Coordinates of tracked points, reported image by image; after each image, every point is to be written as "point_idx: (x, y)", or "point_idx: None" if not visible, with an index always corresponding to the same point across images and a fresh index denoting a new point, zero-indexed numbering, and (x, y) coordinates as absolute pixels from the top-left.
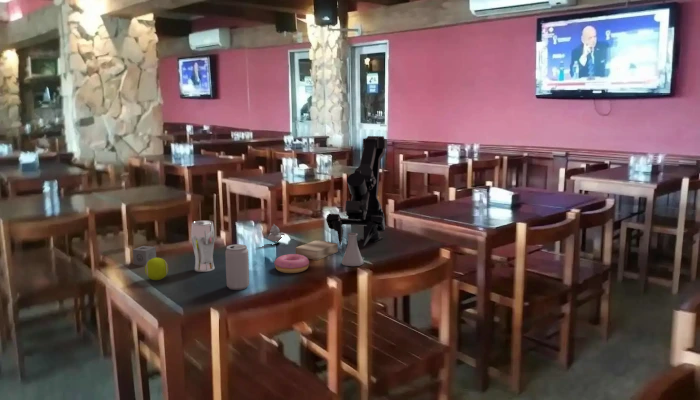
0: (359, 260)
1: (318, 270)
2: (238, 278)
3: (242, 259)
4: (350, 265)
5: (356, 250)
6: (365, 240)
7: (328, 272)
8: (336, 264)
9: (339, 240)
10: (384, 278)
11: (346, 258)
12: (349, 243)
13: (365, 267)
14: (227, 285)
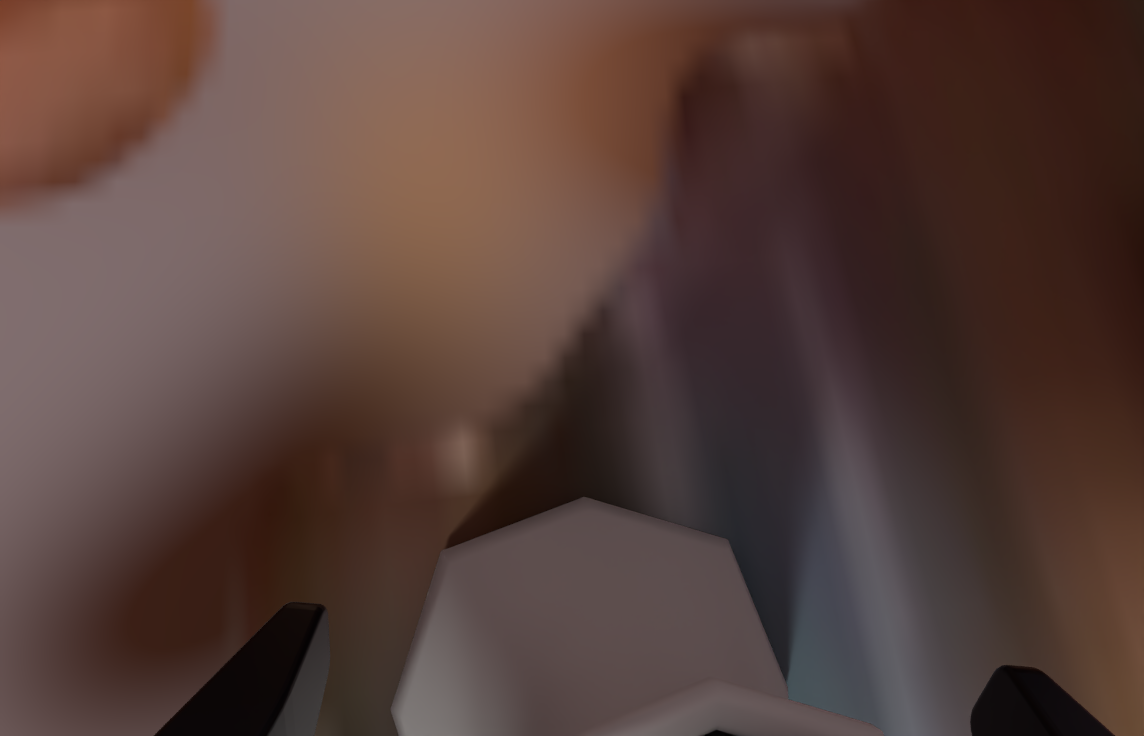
0: (453, 589)
1: (1032, 269)
2: None
3: None
4: (604, 506)
5: (517, 633)
6: (197, 693)
7: (870, 194)
8: (852, 611)
9: (1083, 727)
10: (46, 6)
11: (705, 566)
12: (735, 677)
13: (350, 501)
14: None
